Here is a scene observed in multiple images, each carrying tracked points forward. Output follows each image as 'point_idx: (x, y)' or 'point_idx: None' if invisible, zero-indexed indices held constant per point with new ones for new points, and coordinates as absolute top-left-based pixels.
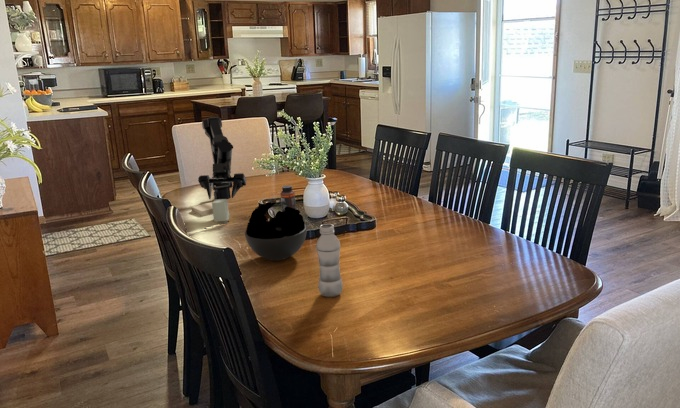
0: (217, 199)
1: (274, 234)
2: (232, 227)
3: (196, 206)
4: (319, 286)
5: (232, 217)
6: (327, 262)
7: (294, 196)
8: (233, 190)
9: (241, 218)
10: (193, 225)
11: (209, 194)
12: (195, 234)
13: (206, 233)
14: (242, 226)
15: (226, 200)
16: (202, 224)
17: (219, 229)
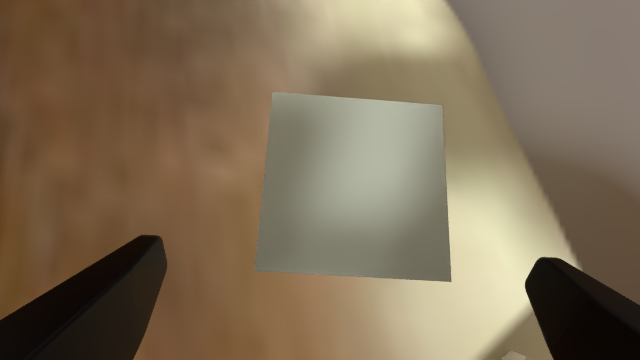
0: (408, 273)
1: None
2: (236, 89)
3: None
4: None
5: (262, 345)
6: None
7: None
8: (24, 321)
9: (182, 296)
10: (523, 191)
11: (603, 298)
12: (444, 15)
13: (383, 17)
14: (169, 94)
15: (260, 220)
16: (464, 201)
17: (317, 69)
